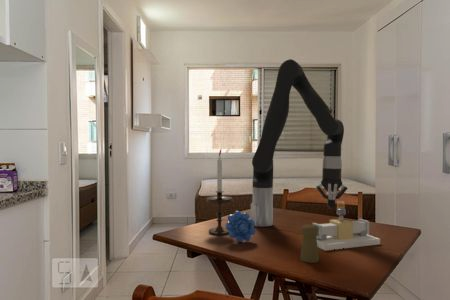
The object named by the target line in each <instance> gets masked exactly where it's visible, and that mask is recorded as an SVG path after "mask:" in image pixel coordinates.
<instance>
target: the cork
mask: <svg viewBox="0 0 450 300" xmlns="http://www.w3.org/2000/svg"><path fill="white" fill-rule="evenodd" d="M301 234H302V242H301V250H300V256H299V259H300V261H302V262H305V263H318V262H320V255H319V254H320V253H319V248H318V246H317V238H316V236H317V234H318V228H317V227H316V226H314V225H312V224H304V225H302V227H301Z"/></svg>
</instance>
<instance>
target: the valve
mask: <svg viewBox="0 0 450 300" xmlns="http://www.w3.org/2000/svg"><path fill="white" fill-rule="evenodd" d="M328 221H329V223H328V222H327V223H316V222H312V223H311V225H314V226H316V227H317V228H318V234H317V236H316V238H317V246H318V249H320V250H322V251H324V252H325V251H326V252H327V251H333V250H334V249H335V250H342V249H343V248H344V249H350V248H359V247H368V246H377V245H381V238H379V237H375V236H373V235H370V221H369V220H366V219H363V218H358V220H352V221H350V220H348V219H344V215H338V218H337V219H335V218H334V219H329V220H328ZM335 250H334V251H335Z"/></svg>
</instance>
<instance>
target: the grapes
mask: <svg viewBox="0 0 450 300" xmlns="http://www.w3.org/2000/svg"><path fill="white" fill-rule="evenodd" d="M227 221H228V222H226V223H225V228H227V229H228V230H230V231H229V234H228V235H229V237H230V238H231V239H236V242H238V243H242V242H244V241H246V242H250V241H251V240H252V236H254V235H256V228H254V225H255V222H254V220H253V219H251V218H250V214H249V213H248V212H243V213H242V212H241V211H239V210H235V211H234V213H233V214H229V215H228V216H227Z"/></svg>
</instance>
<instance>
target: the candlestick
mask: <svg viewBox="0 0 450 300" xmlns="http://www.w3.org/2000/svg"><path fill="white" fill-rule="evenodd" d="M221 154H222V149H219V153H218V159H217V160H216V161H217V163H216V164H217V167H216V169H217V172H216V174H217V175H216V176H217V177H216V178H217V180H216V181H217V182H216V183H217V186H216V189H217V190H216V191H214V193H216V195H214V196H207V197H206V202H208V203H214V204H216V205H217V212H216V218H217V219H216V222H217V226H216V227H213V228H209V229H208V234H209V235H211V236H227V235H229V231H231V230H228V229H227V228H226V227H223V226H222V222H223V219H222V217H223V216H224V213H223V212H222V205H223V204H225V203H226V204H227V203H231V202H233V197H232V196H225V195H223V193H224V192H225V191H223V188H222V187H223V185H222V184H223V159H222V158H221Z"/></svg>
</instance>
